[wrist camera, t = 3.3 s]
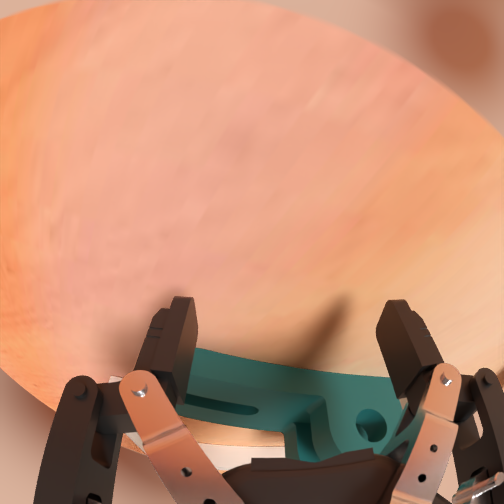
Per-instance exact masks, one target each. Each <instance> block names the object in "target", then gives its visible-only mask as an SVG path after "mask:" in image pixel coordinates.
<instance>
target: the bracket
mask: <svg viewBox="0 0 504 504" xmlns="http://www.w3.org/2000/svg"><path fill="white" fill-rule="evenodd" d="M175 411H176V413H177V414H178V415H180V416H183V417H187V418H192V419H196V420H201V421H206V422H211V423H217V424H222V425H228V426H235V427H242V428H249V429H257V430H266V431H277V432H282V433H283V434H284V442H285V458H288V459H294V460H300V461H307V462H320V461H323V460H325V459H328V458H331V457H334V456H336V455H339V454H342V453H344V452H349V451H355V450H361V449H366V448H372V447H373V452H374V454H380V453H381V451H382V450H383V448H384V447H385V446H386V445H387V443H388V442H389V440H390V438H391V436H392V434H393V432H394V430H395V428H396V426H397V423H398V421H399V419H400V416H401V414H402V411H403V410H402V406H401V403H400V400H399V399H397V398H396V395H395V391H394V388H393V385H392V382H391V379H390V377H374V376H361V375H350V374H340V373H332V372H323V371H316V370H308V369H302V368H295V367H289V366H283V365H277V364H271V363H266V362H260V361H255V360H250V359H245V358H241V357H236V356H231V355H227V354H222V353H218V352H214V351H210V350H205V349H201V348H195V352H194V357H193V362H192V367H191V372H190V377H189V382H188V387H187V393H186V398H185V404H184V405H178V404H176V408H175Z"/></svg>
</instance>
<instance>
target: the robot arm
mask: <svg viewBox="0 0 504 504" xmlns="http://www.w3.org/2000/svg"><path fill="white" fill-rule="evenodd" d="M430 335H431V334H430V332H429V331H428V329H427V327H426V325H425V323H424V321H423V319H422V318H421V317H420V316H419V315H418V314H417V313H416V312H415V311H411V309H410V307H409V305H408V303H407V302H406V301H405V300H388V301H387V302H386V304H385V307H384V309H383V312H382V314H381V317H380V319H379V321H378V324H377V327H376V338H377V341H378V344H379V347H380V349H381V352H382V355H383V358H384V361H385V364H386V367H387V370H388V373H389V376H390V379H391V382H392V385H393V388H394V391H395V395H396V398H397V399H402V398H407V401H408V402H407V403H406V405H405V407H404V409H403V411H402V414H401V416H400V419H399V421H398V423H397V426H396V428H395V430H394V432H393V434H392V436H391V438H390V440H389V442H388V443H387V445H386V446H385V447H384V448H383V450H382V451H381V453H380V454H374V452H373V447H372V448H366V449H361V450H355V451H349V452H344V453H342V454H339V455H336V456H334V457H331V458H328V459H325V460H323V461H320V462H307V461H300V460H294V459H288V458H251V463H249V464H244V465H241V466H237V467H235V468H232V469H230V470H228V471H226V472H225V473H223V474H222V475H221V474H220V473H219V472H218V470H217V469H216V468H215V466H214V465H213V464H212V462H211V461H210V460H209V458H208V457H207V456H206V454H205V453H204V451H203V450H202V449H201V447H200V446H199V444H198V443H197V441H196V440H195V439H194V437H193V436H192V434H191V433H190V431H189V430H188V428H187V427H186V426H185V425H184V424H183V422H182V421H181V419H180V418H179V416H178V414H177V413H176V411H175V408H176V404H178V405H184V404H185V398H186V393H187V387H188V382H189V377H190V372H191V367H192V362H193V357H194V352H195V347H196V342H197V336H198V323H197V316H196V310H195V303H194V298H193V297H178V296H175V297H174V298H173V301H172V304H171V307H170V309H165V308H161V309H160V310H159V311H158V312H157V314H156V315H155V316H154V317H153V319H152V322H151V324H150V328H149V330H148V332H147V335H146V338H145V340H144V343H143V346H142V349H141V351H140V354H139V357H138V360H137V363H136V366H135V368H134V370H133V371H132V372H130V373H128V374H127V375H125V376H124V377H123V379H122V380H121V381H118V382H111V383H100V384H96V382H95V381H94V380H93V379H92V378H90V377H88V376H83V375H82V376H76V377H74V378H72V379H71V380H70V381H69V382H68V383H67V384H66V386H65V388H64V391H63V394H62V397H61V399H60V402H59V405H58V408H57V411H56V414H55V417H54V420H53V423H52V427H51V430H50V433H49V437H48V440H47V444H46V447H45V451H44V455H43V459H42V463H41V467H40V472H39V476H38V481H37V485H36V491H35V496H34V502H33V504H112V497H113V489H114V483H115V476H116V470H117V462H118V457H119V452H120V446H121V441H122V436H123V433H131V432H138V434H139V436H140V438H141V440H142V442H143V444H142V445H143V448H144V450H145V452H146V454H147V456H148V458H149V460H150V462H151V463H152V465H153V467H154V468H155V470H156V472H157V473H158V475H159V477H160V478H161V480H162V482H163V483H164V485H165V487H166V488H167V489H168V491H169V493H170V494H171V496H172V497H173V499H174V500H175V502H176V503H177V504H452V503H453V504H504V392H503V390H502V387H501V385H500V383H499V380H498V378H497V376H496V374H495V373H494V372H493V371H492V370H490V369H488V368H481V369H479V370H478V372H477V373H476V374H475V375H474V376H471V375H462V374H460V373H459V371H458V370H457V369H456V368H455V367H454V366H453V365H451V364H448V363H444V361H443V359H442V357H441V355H440V353H439V350H438V348H437V346H436V344H435V342H434V340H433V338H432V337H431V336H430ZM476 411H478V414H479V417H480V420H481V424H482V427H483V435H482V437H481V438H480V437H479V433H478V430H477V426H476V423H475V420H474V416H473V414H474V413H475V412H476ZM451 452H452V453H453V457H454V462H455V467H456V472H457V478H458V484H459V488H458V490H457V493H456V494H454V495H453V497H452V503H450V502H449V501H448V500H446V499H445V498H444V497H442V496H441V495H439V494H438V493H437V490H438V488H439V485H440V483H441V481H442V478H443V475H444V473H445V470H446V467H447V464H448V461H449V458H450V455H451Z"/></svg>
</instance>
